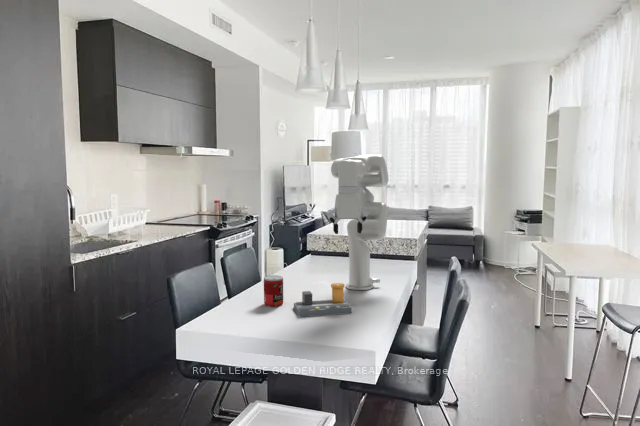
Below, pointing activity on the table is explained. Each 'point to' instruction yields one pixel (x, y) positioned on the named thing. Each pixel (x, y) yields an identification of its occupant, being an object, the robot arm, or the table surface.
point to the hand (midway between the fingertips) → (347, 233)
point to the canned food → (273, 290)
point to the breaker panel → (321, 308)
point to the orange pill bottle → (337, 293)
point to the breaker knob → (306, 298)
